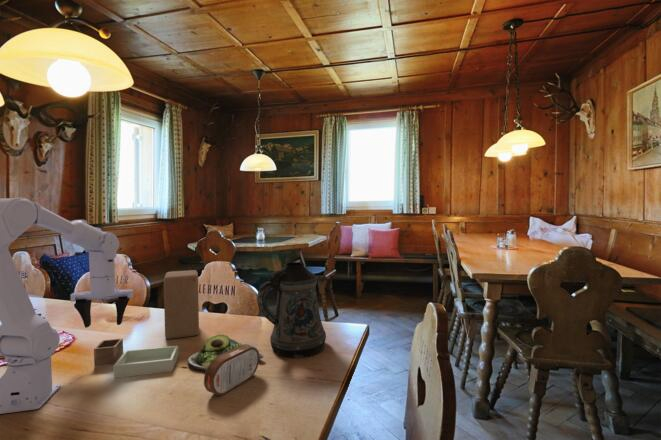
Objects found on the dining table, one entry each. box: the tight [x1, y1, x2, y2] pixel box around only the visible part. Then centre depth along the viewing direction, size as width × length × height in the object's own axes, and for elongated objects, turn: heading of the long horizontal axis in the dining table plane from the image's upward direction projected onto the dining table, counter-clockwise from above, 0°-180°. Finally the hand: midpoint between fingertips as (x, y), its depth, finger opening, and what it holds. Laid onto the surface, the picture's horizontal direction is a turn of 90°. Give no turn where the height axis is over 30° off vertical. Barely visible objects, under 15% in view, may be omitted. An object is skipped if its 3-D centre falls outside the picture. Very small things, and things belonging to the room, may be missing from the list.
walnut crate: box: [93, 338, 124, 368], centre depth 94 cm, size 6×5×5 cm
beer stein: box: [256, 262, 327, 360], centre depth 101 cm, size 16×19×25 cm
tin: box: [203, 343, 260, 396], centre depth 81 cm, size 15×3×8 cm, turn 149°
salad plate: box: [187, 334, 264, 372], centre depth 95 cm, size 19×18×5 cm
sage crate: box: [113, 345, 179, 379], centre depth 91 cm, size 9×13×3 cm
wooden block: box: [163, 269, 200, 340], centre depth 114 cm, size 10×10×20 cm
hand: (103, 325), depth 95 cm, fingers open, 7 cm apart
